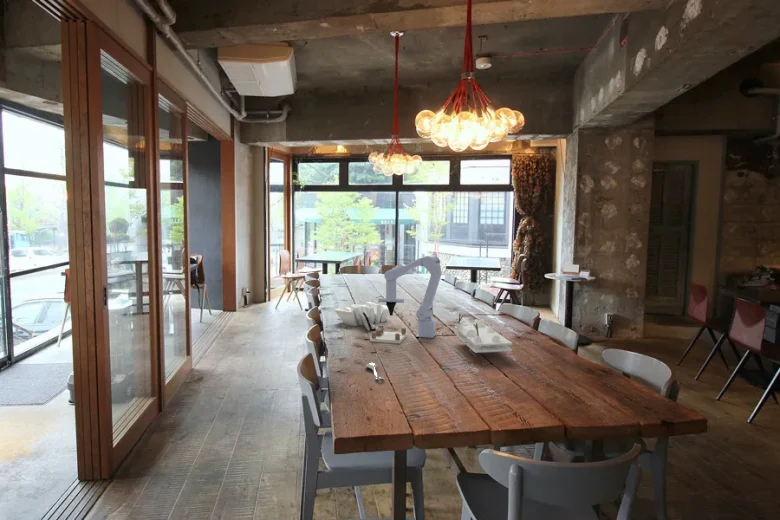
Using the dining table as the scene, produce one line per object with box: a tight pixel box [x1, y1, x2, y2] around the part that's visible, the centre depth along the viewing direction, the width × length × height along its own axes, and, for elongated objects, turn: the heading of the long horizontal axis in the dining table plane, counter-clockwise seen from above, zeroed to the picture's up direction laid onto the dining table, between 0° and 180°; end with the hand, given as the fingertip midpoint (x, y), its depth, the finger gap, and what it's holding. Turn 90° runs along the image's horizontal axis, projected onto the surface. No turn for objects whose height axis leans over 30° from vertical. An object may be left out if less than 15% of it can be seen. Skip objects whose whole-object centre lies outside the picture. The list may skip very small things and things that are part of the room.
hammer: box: [375, 325, 385, 335], centre depth 254 cm, size 9×3×3 cm, turn 170°
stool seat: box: [369, 327, 408, 344], centre depth 250 cm, size 16×16×4 cm
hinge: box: [360, 312, 377, 332], centre depth 274 cm, size 17×5×10 cm, turn 14°
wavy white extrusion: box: [334, 301, 389, 327], centre depth 290 cm, size 35×16×11 cm, turn 119°
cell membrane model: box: [453, 313, 513, 357], centre depth 225 cm, size 35×21×17 cm, turn 8°
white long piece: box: [365, 362, 385, 380], centre depth 193 cm, size 20×4×5 cm
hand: (391, 315), depth 264 cm, fingers closed
